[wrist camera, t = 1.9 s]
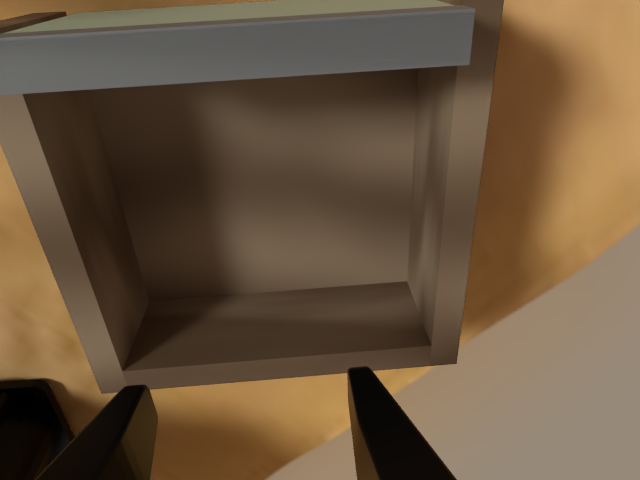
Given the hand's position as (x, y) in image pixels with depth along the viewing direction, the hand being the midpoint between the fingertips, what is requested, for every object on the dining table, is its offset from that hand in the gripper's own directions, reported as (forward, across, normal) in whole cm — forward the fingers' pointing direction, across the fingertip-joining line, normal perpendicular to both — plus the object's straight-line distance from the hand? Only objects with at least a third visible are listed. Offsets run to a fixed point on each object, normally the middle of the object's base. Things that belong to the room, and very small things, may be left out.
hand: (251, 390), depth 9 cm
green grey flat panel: (+10, 0, -6) cm, 12 cm away
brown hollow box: (+11, 0, 0) cm, 11 cm away
